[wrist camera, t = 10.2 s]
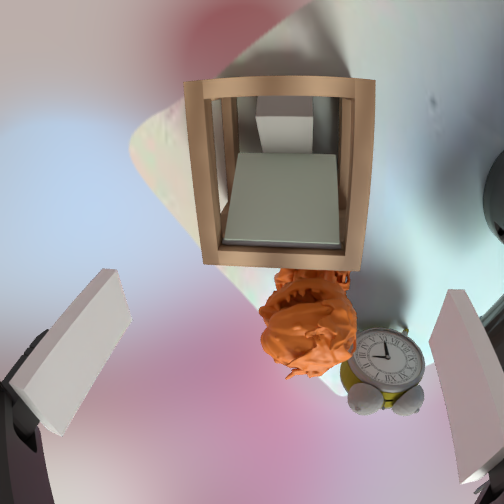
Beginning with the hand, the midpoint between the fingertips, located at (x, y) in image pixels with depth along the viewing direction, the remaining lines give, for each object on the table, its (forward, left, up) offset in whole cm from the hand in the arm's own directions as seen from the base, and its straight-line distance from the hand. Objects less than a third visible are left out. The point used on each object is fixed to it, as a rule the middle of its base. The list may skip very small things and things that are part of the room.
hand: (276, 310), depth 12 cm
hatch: (+1, +3, -20) cm, 20 cm away
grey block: (+1, -2, -25) cm, 25 cm away
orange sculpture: (-2, +15, -27) cm, 31 cm away
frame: (+1, 0, -27) cm, 27 cm away
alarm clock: (-13, +28, -27) cm, 41 cm away
